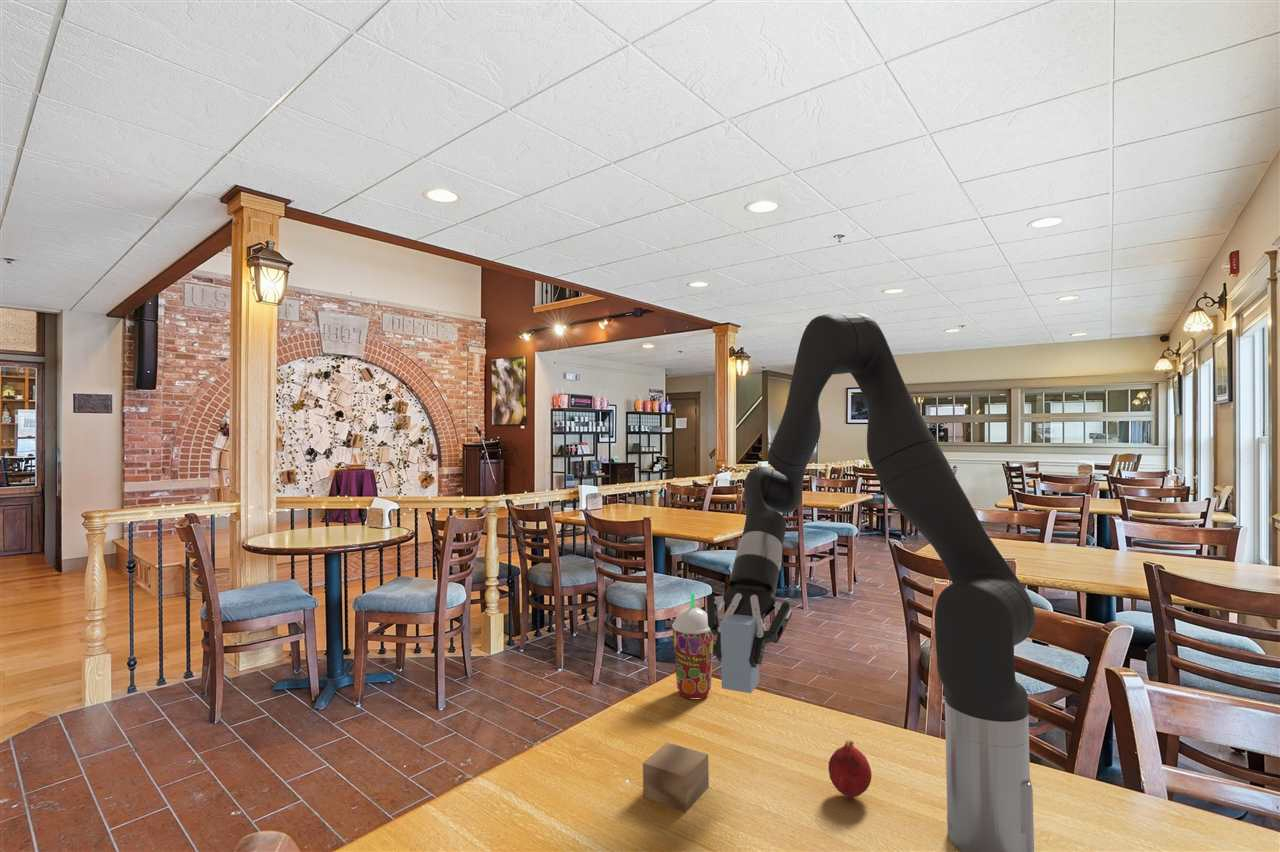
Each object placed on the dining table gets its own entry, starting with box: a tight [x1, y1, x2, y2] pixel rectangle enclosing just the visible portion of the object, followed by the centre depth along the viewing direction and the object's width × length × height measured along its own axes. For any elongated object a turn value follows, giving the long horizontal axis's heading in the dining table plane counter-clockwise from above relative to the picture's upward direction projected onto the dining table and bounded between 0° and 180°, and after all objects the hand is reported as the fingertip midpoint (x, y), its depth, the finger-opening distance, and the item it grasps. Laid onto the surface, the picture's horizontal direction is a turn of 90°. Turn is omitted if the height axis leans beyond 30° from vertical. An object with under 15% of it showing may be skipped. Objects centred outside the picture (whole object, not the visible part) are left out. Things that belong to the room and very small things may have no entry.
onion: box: [828, 739, 872, 799], centre depth 88 cm, size 6×6×8 cm
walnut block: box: [642, 742, 710, 813], centre depth 90 cm, size 7×7×5 cm
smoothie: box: [671, 593, 714, 699], centre depth 124 cm, size 8×8×20 cm
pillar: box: [719, 614, 760, 694], centre depth 94 cm, size 4×4×10 cm
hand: (736, 662), depth 92 cm, fingers closed on pillar, 4 cm apart
